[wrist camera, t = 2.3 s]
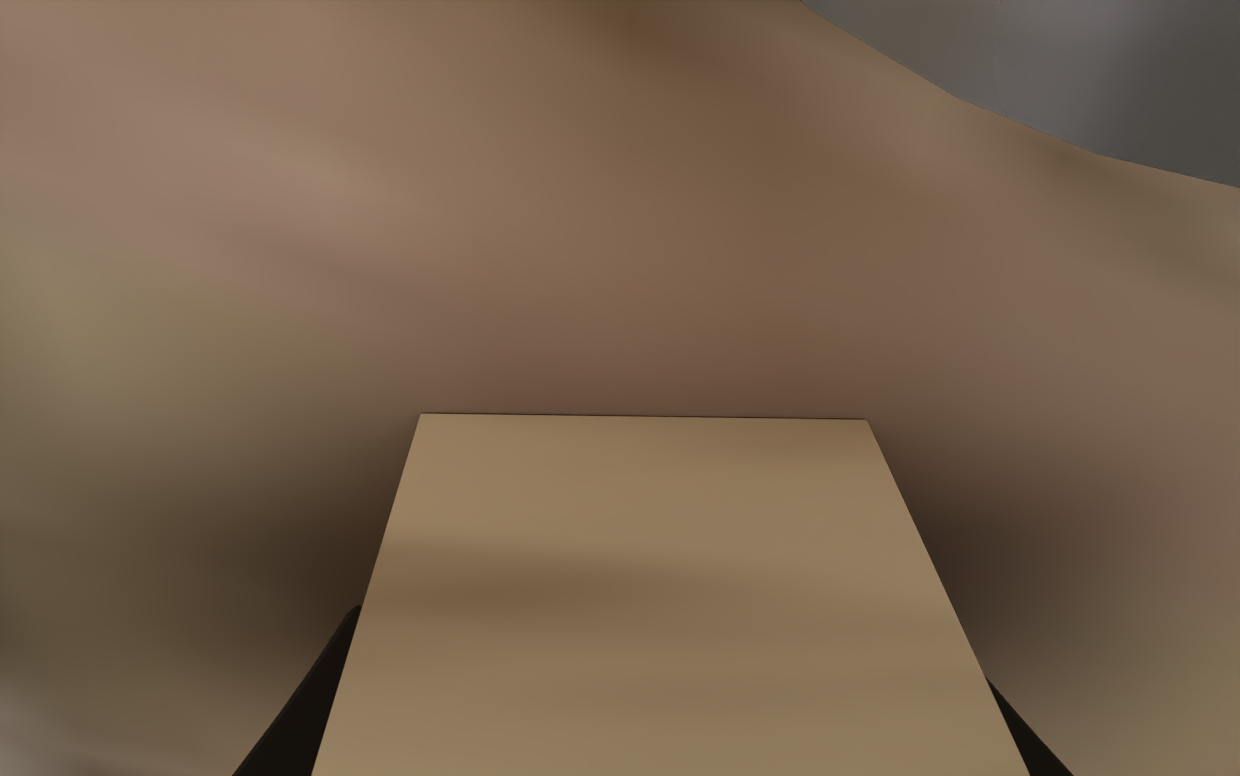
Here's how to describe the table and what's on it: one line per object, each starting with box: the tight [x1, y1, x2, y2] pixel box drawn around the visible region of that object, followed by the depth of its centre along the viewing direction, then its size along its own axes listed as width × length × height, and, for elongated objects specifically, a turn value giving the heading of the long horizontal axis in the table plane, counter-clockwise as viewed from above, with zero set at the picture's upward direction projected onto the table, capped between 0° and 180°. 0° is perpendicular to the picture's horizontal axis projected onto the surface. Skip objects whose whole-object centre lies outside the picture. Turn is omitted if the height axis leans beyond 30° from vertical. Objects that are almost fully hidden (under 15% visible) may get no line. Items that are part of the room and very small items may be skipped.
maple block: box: [311, 414, 1030, 776], centre depth 10 cm, size 5×5×5 cm
